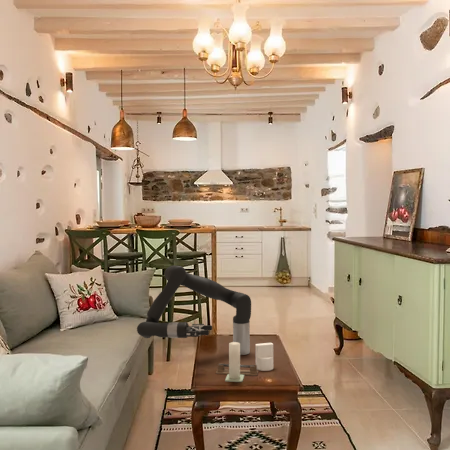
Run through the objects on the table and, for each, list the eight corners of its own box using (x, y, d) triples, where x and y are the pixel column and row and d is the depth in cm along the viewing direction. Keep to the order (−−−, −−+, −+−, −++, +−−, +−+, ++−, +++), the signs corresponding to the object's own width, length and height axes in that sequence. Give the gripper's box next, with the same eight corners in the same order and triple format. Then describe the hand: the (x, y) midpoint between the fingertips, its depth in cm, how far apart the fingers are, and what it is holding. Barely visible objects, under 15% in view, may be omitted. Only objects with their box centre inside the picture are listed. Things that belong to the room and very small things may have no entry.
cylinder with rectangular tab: (259, 371, 226) (258, 347, 226) (253, 365, 235) (252, 342, 234) (276, 369, 228) (276, 345, 228) (269, 364, 237) (269, 340, 237)
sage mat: (227, 375, 222) (227, 373, 222) (244, 375, 220) (244, 374, 220) (225, 381, 214) (225, 379, 214) (242, 382, 212) (242, 380, 212)
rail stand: (217, 370, 229) (217, 362, 228) (258, 372, 225) (257, 364, 225) (216, 373, 224) (215, 365, 223) (257, 375, 220) (256, 367, 220)
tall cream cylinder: (229, 375, 220) (229, 341, 220) (240, 375, 219) (240, 342, 219) (228, 378, 215) (228, 344, 214) (239, 379, 214) (239, 345, 214)
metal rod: (218, 365, 226) (218, 363, 226) (254, 367, 224) (254, 365, 223) (218, 366, 225) (218, 364, 225) (254, 368, 222) (254, 365, 222)
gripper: (173, 326, 219) (207, 326, 216) (181, 318, 233) (212, 318, 230) (174, 342, 219) (207, 342, 217) (181, 333, 233) (213, 333, 231)
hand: (210, 330), depth 223 cm, fingers open, 8 cm apart
